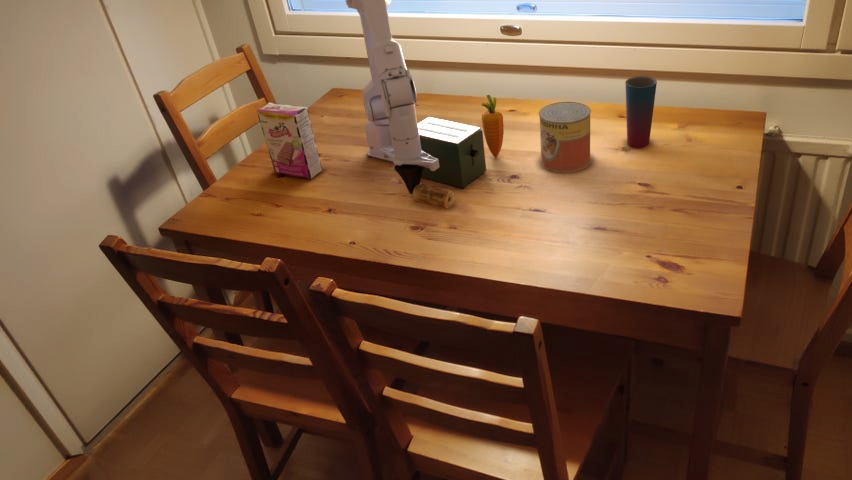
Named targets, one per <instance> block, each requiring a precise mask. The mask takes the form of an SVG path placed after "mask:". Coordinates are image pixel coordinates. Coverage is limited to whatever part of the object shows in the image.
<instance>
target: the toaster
mask: <svg viewBox="0 0 852 480" xmlns="http://www.w3.org/2000/svg"><path fill="white" fill-rule="evenodd" d="M417 124H418V130H419V137H420V143H421V150H422V151H424V152H425V153H427V154H429V155H430V156H432V157H434V158H437V159H438V160H439V168H438V169H436V170H435V171H431V170H430V168H427V167H425V168H424V170H423V173H422V176H421V180H423V179H424V180H427V181H429V182H430V181H431V182H434V183H437V184H442V185H444V186H449V187H453V188H457V189H461V190H464V189H466V188H467V187H468V186H469V185H471V184H472V183H473V182H475V181H476V180H477V179H479V178H480V177H482V176H483V175H484V174H485V173H486V171H487V166H486V165H487V164H486V153H485V144H484V142H485V141H484V131H483V129H482V127H480V126H474V125H470V124H465V123H460V122H455V121H450V120H445V119H442V118H441V119H440V118H436V117H431V116H428V117H426V118H425V119H423V120H422V121H419V122H417Z"/></svg>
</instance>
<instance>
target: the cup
mask: <svg viewBox="0 0 852 480" xmlns="http://www.w3.org/2000/svg"><path fill="white" fill-rule="evenodd" d="M624 83H625V112H626V115H625V116H626V118H625V119H626V143H627V146H628V147H630V148H632V149H643V148H646V147H648V146H649V145H650V141H651V140H650V139H651V131H652V124H653V115H654V107H655V100H656V91H657V84H658V81H657V79H656V78H654V77H650V76H645V75H638V76H632V77H629V78H627V79H626V80H625V82H624Z"/></svg>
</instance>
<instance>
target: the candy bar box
mask: <svg viewBox="0 0 852 480" xmlns="http://www.w3.org/2000/svg"><path fill="white" fill-rule="evenodd" d="M256 114H257V117H258V121H259V124H260V128H261V130H262V134H263V136H264V140H265V144H266V148H267V150H268V153H269V157H270V160H271V164H272V168H273V171H274V173H275V174H278V175H283V176H291V177H296V178H297V177H298V178H302V179H307V180H309V179H310V180H312V179H314V178H315V177H316V176H317V175H318V174H320V173H321V172H323V166H322V163H321V159H320V155H319V150H318V147H317V142H316V139H315V134H314V130H313V127H312V123H311V117H310V114H309V110H308V107H307V106H299V105H292V104H283V103H275V102H268V103H266V104H265V105H263V106H261V107H259V108H258V109H257V110H256Z"/></svg>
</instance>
